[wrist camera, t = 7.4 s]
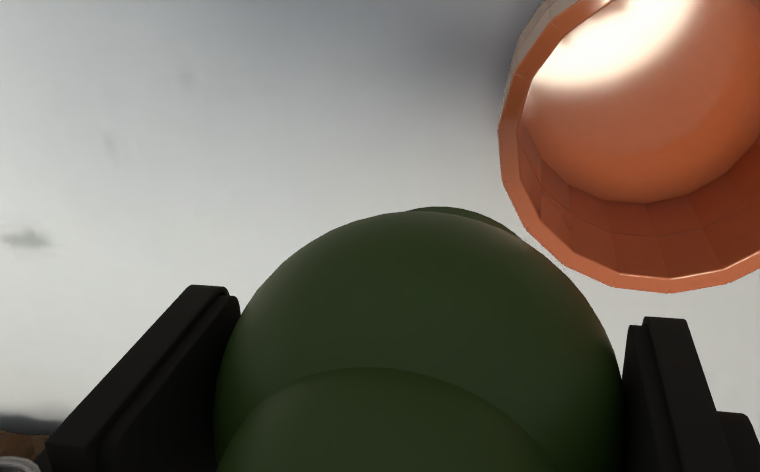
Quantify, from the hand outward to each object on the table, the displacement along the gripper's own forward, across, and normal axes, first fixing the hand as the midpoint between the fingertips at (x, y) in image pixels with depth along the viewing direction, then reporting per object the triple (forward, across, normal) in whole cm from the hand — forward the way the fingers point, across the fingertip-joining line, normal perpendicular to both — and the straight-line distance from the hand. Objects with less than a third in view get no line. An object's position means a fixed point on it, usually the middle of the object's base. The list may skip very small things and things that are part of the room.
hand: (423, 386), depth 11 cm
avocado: (+3, 0, 0) cm, 3 cm away
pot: (+20, -6, 0) cm, 21 cm away
